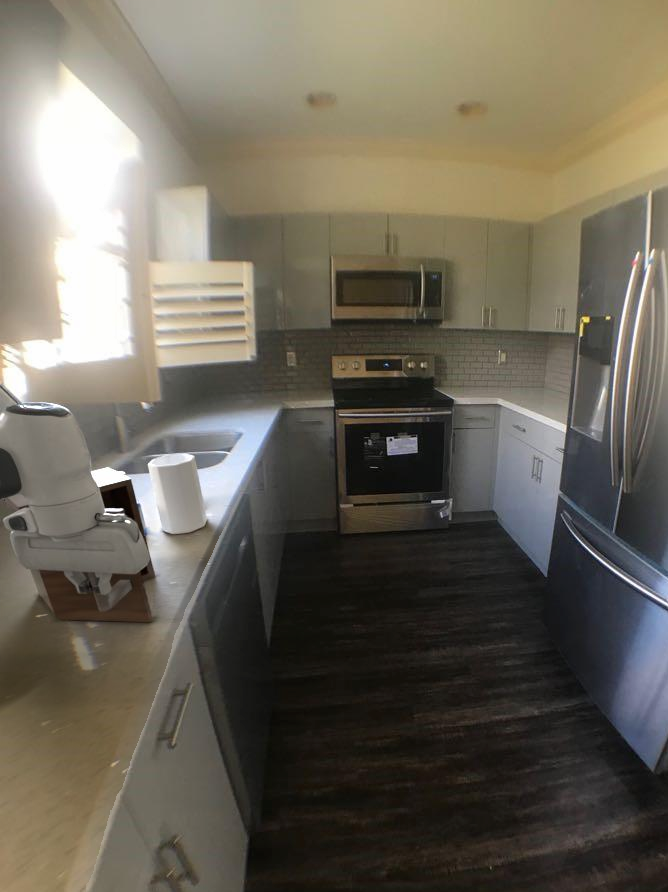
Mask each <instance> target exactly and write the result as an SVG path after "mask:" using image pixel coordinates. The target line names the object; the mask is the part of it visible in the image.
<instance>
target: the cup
mask: <svg viewBox="0 0 668 892" xmlns="http://www.w3.org/2000/svg"><path fill="white" fill-rule="evenodd" d="M147 469H148V472H149V476H150V477H149V478H150V481H151V485H152V489H153V494H154V499H155V502H156V507H157V511H158V516H159V520H160V524H161V528H162V531H163V532H165V533H168V534H171V535H180V534H188V533H189V534H190V533H192V532H195V531H197V530H198V529H201V528H204V527H205V525H206V524H207V523H206V522H207V521H208V519H207V513H206V508H205V503H204V498H203V493H202V487H201V482H200V477H199V471H198V466H197V461H196V457H195V455H193V454H189V453H175V454H166V455H162V456H159V457H155V458H152V459H151V460H150V461H149V462H148V464H147Z"/></svg>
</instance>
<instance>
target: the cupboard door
mask: <svg viewBox="0 0 668 892" xmlns="http://www.w3.org/2000/svg"><path fill="white" fill-rule="evenodd" d="M22 509H23V508H22ZM20 510H21V509H20ZM18 511H19V510H18ZM105 511H106V514H113V515H117V514H124V515H125V511H124V509H105ZM39 572H40V575H41V578H42V581H43V583H44V586H45V589H46V592H47V595H48V597H49V600H50V603H51V606H52V609H53V611H52V613H53V614H54V617H55V619H56V620H61V621H63V620H65V621H92V622H93V621H95V622H96V621H97V622H124V623H125V622H126V623H127V622H129V623H131V622H132V623H151V622H152V621H153V615H152V611H151V607H150V603H149V599H148V596H147V591H146V588H145V584H144V581H143V580H142V576H141V572H140V571H139V572H138V573H136V574H117V573H112V576H111V579H110V585H111V591H110V592H109V593H108V594H106V595H99V594H96V593H95V590H94V587H93V586H94V585H95V584H97V583H98V582H99V579H100V577H96V575H95V572H82V573H83V574H84V576H85V577H86V578H87V579H89V580H90V583H91V586H92V589H93V590H92V591H91V592H90V593H88V594H81V593H78V592H77V589H76V586H75V585H74V584H73V583H72V582H71V581H70V580H69V579H68V578H67V577H66V576H65V574H64V571H56V570H39Z"/></svg>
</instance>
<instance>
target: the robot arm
mask: <svg viewBox="0 0 668 892" xmlns="http://www.w3.org/2000/svg"><path fill="white" fill-rule="evenodd" d="M91 471H92V458H91V454H90V450H89V448H88V444H87V442H86V439H85V436H84V433H83V431H82V428H81V426H80V424H79V421H78V420H77V418H76V417H75V415H74V414H73V413H72V411H70V409H68V408H66V407H65V406H62V405H59V404H55V403H52V402H51V403H49V402H42V401H41V402H40V401H39V402H38V401H36V402H22V401H21V400H20V399H19V398H18V397H16V395H15V394H13V392H12V391H10V390H9V388H7V387H6V386H5V385H4V383H2V382H1V381H0V500H5V499H4V498H7V497H10V496H13V495H23V496H25V497H26V499H27V501H28V504H29V506H28V507H26V508H23V509H21V510H19V511H17V512H15V513H13V514H11V515H10V514H9V515H7V516H5V517H4V518H3V520H2V521H3V525H4V527H5V530H7V531H10V534H9V539H10V543H11V546H12V549H13V553H14V555H15V557H16V559H17V561H18V563H19V564H20V565H21V566H22V567H23V568H25V569H27V570H30V569H36V570H56V571H64V574H65V576H66V577H67V578H68V579H69V580H70V581H71V582H72V583H73V584H74V585H75V586H76V589H77V592H78V593H81V594H88V593H90V592H91V591H92V590H93V589H92V586H91V583H90V580H89V579H87V578H86V577H85V576H84V574H83V573H82V572H95V575H96V577H100V579H99V582H98V583H97V584H95V585H94V586H93V587H94V590H95V593H96V594H99V595H106V594H108V593H109V592H110V591H111V585H110V579H111V576H112V573H117V574H136V573H138V572H139V571H140V570H142V569H143V568H144V567H145V566H146V565H147V564H148V562H149V561H150V557H151V554H150V555H149V553H150V551H149V552H148V549H149V548H148V549H147V546H146V544H145V541H144V539H143V537H142V534H141V532H140V530H139V528H138V525H137V523H136V522H135V521H133V520H132V519H130V518H128V517H127V516H126V515H124V514H117V515H113V514H106V511H105V507H104V504H103V500H102V496H101V493H100V489H99V486H98V484H97V482H96V481H95V479H94V478H93V476H92V472H91ZM127 520H128V521H127Z"/></svg>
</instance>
